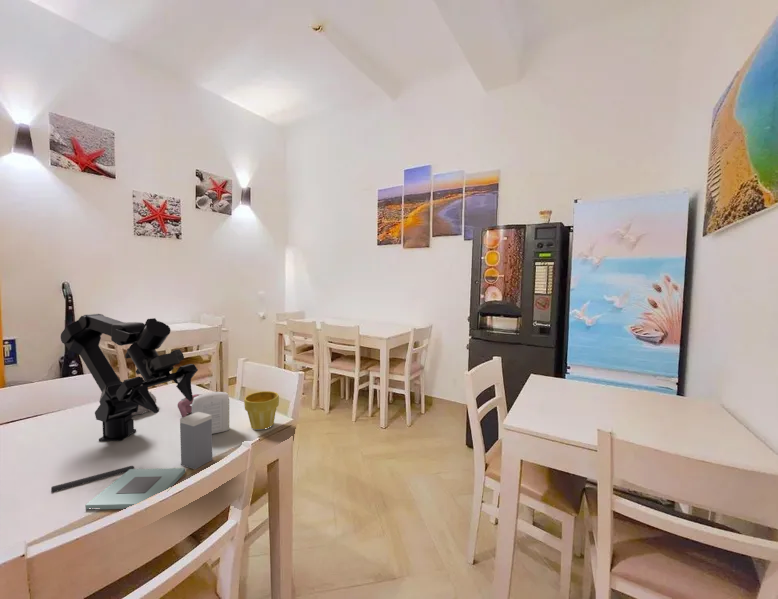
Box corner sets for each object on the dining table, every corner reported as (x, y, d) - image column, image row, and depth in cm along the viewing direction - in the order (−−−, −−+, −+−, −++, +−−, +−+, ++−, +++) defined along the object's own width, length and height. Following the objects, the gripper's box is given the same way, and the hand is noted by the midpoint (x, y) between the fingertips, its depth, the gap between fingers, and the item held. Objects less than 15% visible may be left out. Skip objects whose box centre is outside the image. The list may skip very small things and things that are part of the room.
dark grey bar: (51, 493, 75) (51, 488, 75) (52, 490, 76) (52, 485, 76) (134, 470, 84) (134, 466, 84) (134, 468, 85) (134, 464, 85)
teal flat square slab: (85, 509, 69) (85, 504, 69) (130, 473, 82) (130, 468, 82) (151, 508, 70) (151, 503, 70) (185, 472, 83) (185, 467, 83)
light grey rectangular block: (181, 464, 86) (180, 418, 86) (199, 455, 91) (198, 411, 90) (194, 469, 84) (193, 422, 84) (212, 459, 89) (211, 415, 88)
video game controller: (208, 411, 124) (203, 392, 125) (213, 408, 121) (208, 389, 123) (178, 420, 116) (174, 400, 117) (184, 417, 113) (179, 397, 115)
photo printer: (228, 425, 109) (228, 388, 108) (230, 431, 105) (230, 391, 105) (191, 433, 103) (190, 393, 102) (192, 439, 100) (191, 398, 99)
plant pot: (237, 429, 106) (236, 399, 106) (260, 417, 116) (260, 389, 115) (263, 435, 103) (263, 404, 102) (285, 422, 112) (285, 393, 112)
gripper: (121, 348, 82) (151, 399, 79) (192, 336, 99) (220, 378, 96) (103, 375, 86) (132, 426, 82) (175, 359, 103) (201, 401, 99)
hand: (175, 406), depth 90 cm, fingers open, 9 cm apart
